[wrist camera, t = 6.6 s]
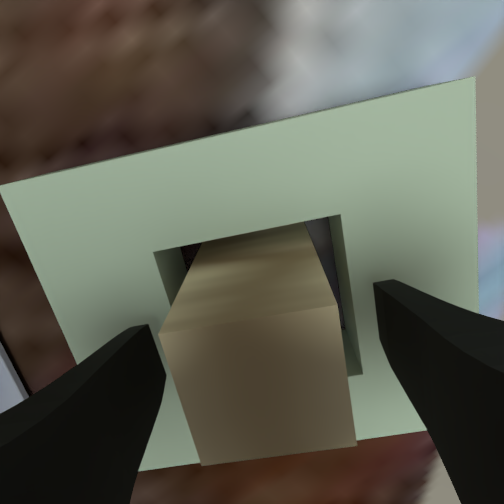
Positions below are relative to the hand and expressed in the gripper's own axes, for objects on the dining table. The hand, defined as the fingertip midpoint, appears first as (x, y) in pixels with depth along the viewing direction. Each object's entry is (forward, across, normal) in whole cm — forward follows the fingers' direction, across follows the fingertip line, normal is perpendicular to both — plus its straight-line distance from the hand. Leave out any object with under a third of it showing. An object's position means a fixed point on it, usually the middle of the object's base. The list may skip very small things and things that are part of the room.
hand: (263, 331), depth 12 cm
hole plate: (+4, 0, 0) cm, 4 cm away
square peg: (+4, 0, 0) cm, 4 cm away
